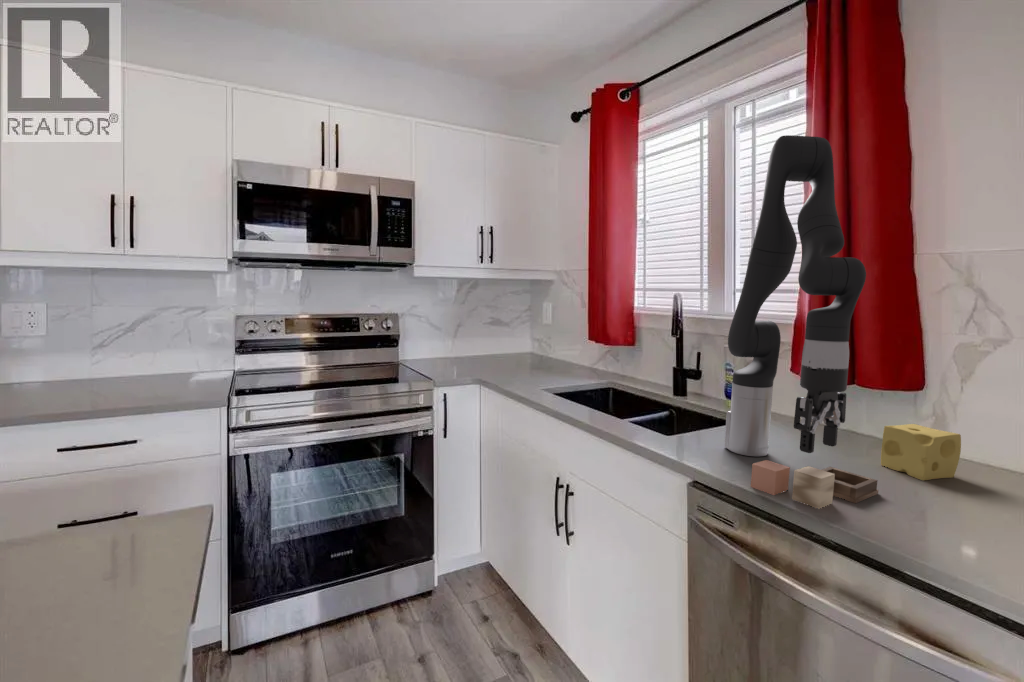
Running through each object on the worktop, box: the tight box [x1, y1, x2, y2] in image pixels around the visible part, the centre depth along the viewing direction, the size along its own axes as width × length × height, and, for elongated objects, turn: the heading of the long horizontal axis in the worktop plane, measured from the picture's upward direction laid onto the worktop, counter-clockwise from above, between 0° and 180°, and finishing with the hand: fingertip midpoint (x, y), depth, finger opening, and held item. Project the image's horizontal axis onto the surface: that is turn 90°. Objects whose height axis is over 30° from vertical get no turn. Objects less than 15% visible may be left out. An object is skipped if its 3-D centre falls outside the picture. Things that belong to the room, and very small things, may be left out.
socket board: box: [821, 466, 879, 504], centre depth 104 cm, size 10×10×3 cm
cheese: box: [880, 423, 962, 482], centre depth 117 cm, size 10×11×10 cm
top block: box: [750, 459, 791, 496], centre depth 104 cm, size 5×5×5 cm
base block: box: [791, 465, 835, 510], centre depth 98 cm, size 5×5×6 cm
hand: (818, 448), depth 97 cm, fingers open, 8 cm apart
